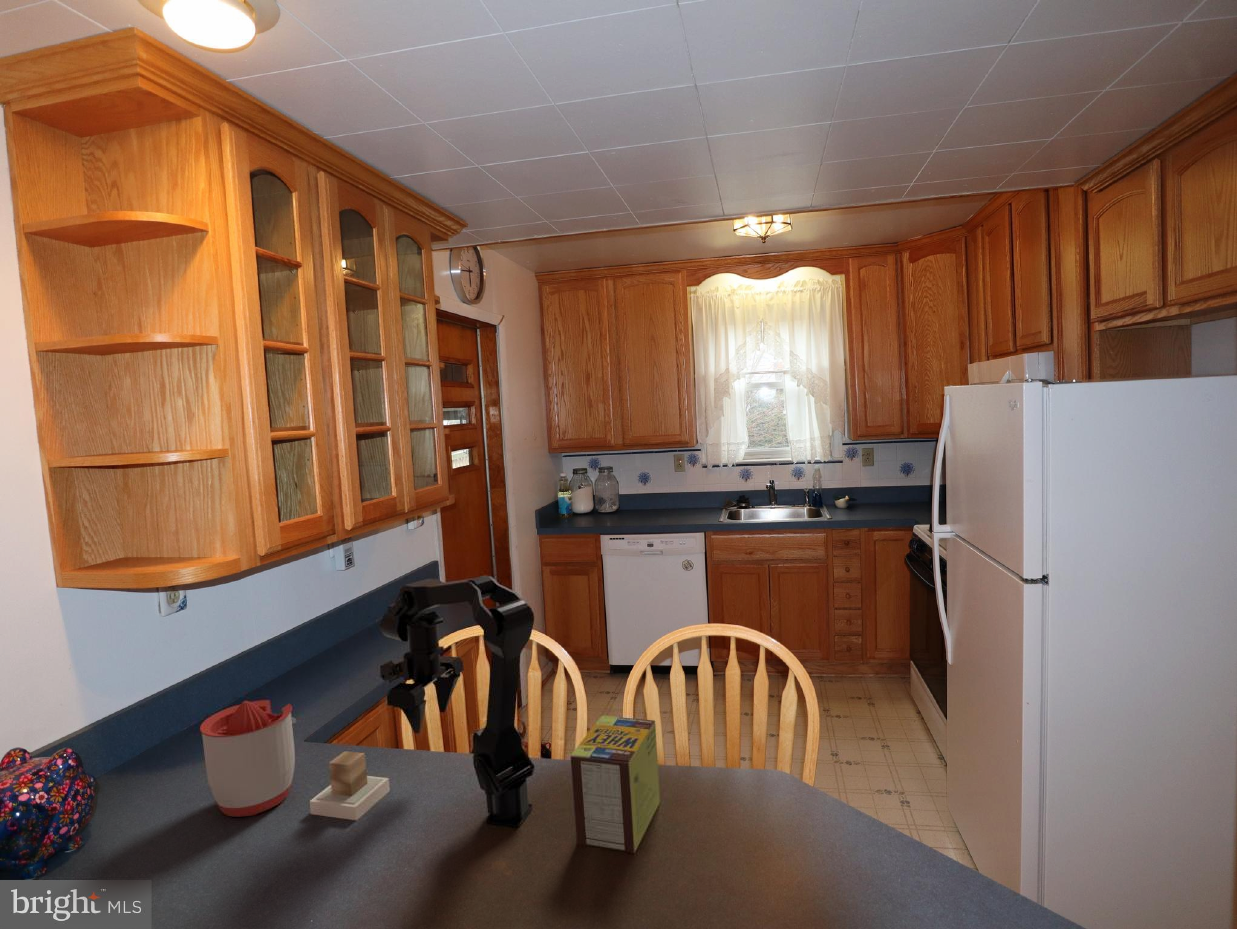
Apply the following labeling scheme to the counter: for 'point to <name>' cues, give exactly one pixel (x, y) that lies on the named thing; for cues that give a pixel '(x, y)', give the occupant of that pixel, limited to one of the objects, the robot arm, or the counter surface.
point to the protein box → (615, 783)
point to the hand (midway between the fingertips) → (430, 722)
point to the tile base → (350, 800)
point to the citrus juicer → (249, 757)
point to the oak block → (348, 773)
